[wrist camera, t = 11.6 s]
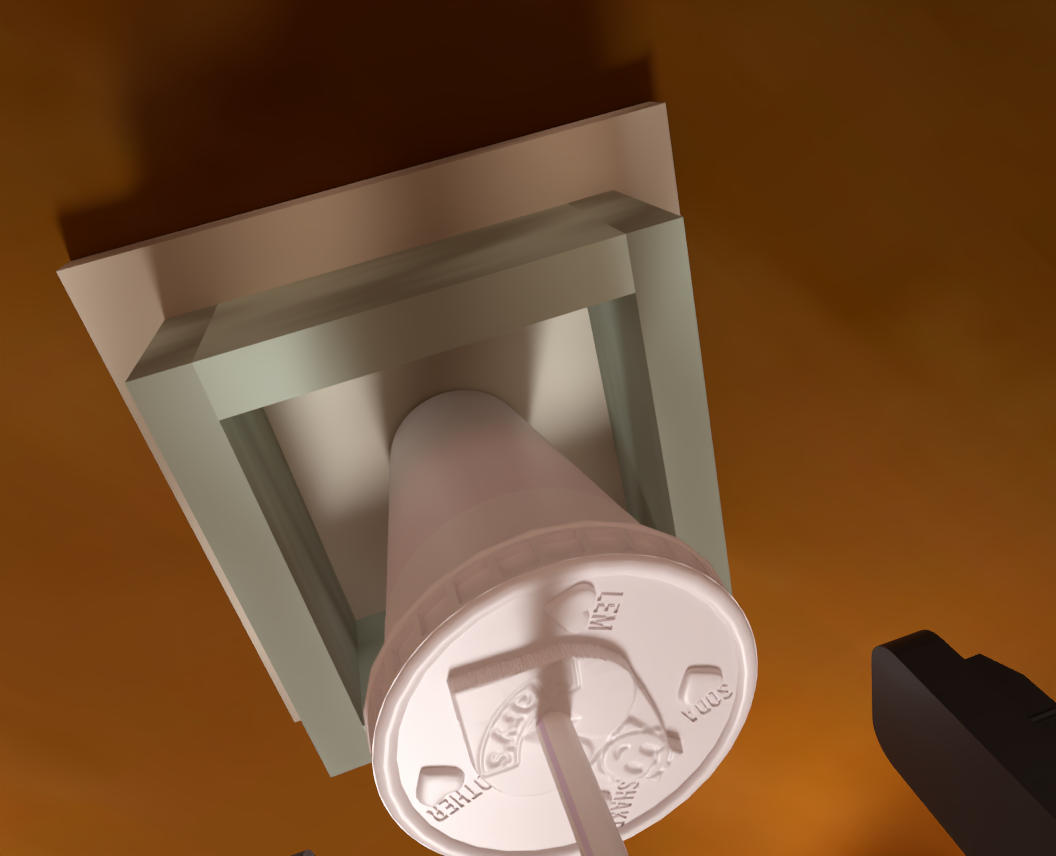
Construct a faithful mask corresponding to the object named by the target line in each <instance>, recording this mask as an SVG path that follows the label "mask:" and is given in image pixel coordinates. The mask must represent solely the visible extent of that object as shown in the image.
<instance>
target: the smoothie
mask: <svg viewBox="0 0 1056 856" xmlns="http://www.w3.org/2000/svg"><path fill="white" fill-rule="evenodd" d="M757 664H758V662H757V650H756V644H755V640H754V635H753V632H752V630H751V627H750V624H749V622H748V620H747V618H746V616H745V614H744V612H743V610H742V609H741V608H740V606H739V605H738V603H737V602H736V601H735V599H734V598H733V597H732V596H731V594H730V593H729V592H728V591H727V589H726V587H725V586H724V584H723V583H722V581H721V579H720V578H719V576H718V574H717V573H716V571H715V570H714V568H713V566H712V565H711V563H710V562H709V561H707V560H706V559H705V558H704V557H702V556H701V555H700V554H698V553H697V552H696V551H695V550H693V549H692V548H691V547H689V546H688V545H687V544H686V543H684V542H683V541H682V540H680V539H679V538H678V537H675V536H672V535H669V534H667V533H664V532H661V531H658V530H655V529H652V528H650V527H647V526H644V525H641V524H640V523H639V522H638V521H637V520H635V519H634V518H633V517H632V516H631V515H630V514H629V513H627V512H626V511H625V510H624V509H622V508H621V507H620V506H619V505H618V504H617V503H616V502H615V501H614V500H612V499H611V498H610V497H609V496H608V495H607V494H606V493H605V492H604V491H603V490H601V489H600V488H599V487H598V486H597V485H596V484H595V483H594V482H593V481H592V480H590V479H589V478H588V477H587V476H586V475H585V474H584V473H583V472H582V471H581V470H579V469H578V468H577V467H576V466H575V465H574V464H573V463H572V462H571V461H569V460H568V459H567V458H566V457H565V456H564V455H563V454H562V453H561V452H560V451H558V450H557V449H556V448H555V447H554V446H553V445H552V444H551V443H550V442H549V441H547V440H546V439H545V438H544V437H543V436H542V435H541V434H540V433H539V432H538V431H536V430H535V429H534V428H533V427H532V426H531V425H530V424H529V423H528V422H526V421H525V420H524V419H523V418H522V417H521V416H520V415H519V414H518V413H517V412H515V411H514V410H513V409H512V408H511V407H510V406H509V405H508V404H506V403H505V402H504V401H502V400H501V399H499V398H497V397H495V396H493V395H491V394H488V393H485V392H481V391H475V390H455V391H450V392H445V393H442V394H439V395H436V396H434V397H432V398H430V399H428V400H426V401H424V402H423V403H421V404H420V405H418V406H417V407H416V408H415V409H414V410H412V411H411V412H410V413H409V414H408V416H407V417H406V418H405V419H404V420H403V422H402V423H401V425H400V426H399V428H398V430H397V432H396V434H395V436H394V439H393V442H392V446H391V453H390V482H389V517H388V553H387V588H386V617H385V643H384V644H383V646H382V648H381V650H380V652H379V654H378V656H377V658H376V660H375V661H374V663H373V665H372V667H371V671H370V677H369V682H368V687H367V693H366V698H365V703H364V709H363V716H364V722H365V728H366V734H367V740H368V746H369V752H370V754H371V757H372V765H373V773H374V779H375V783H376V786H377V789H378V793H379V795H380V797H381V799H382V801H383V804H384V806H385V807H386V809H387V810H388V812H389V814H390V815H391V817H392V818H393V819H394V820H395V821H396V823H397V824H398V825H399V826H400V827H401V828H402V829H403V830H404V831H405V832H406V833H407V834H408V835H410V836H411V837H412V838H413V839H415V840H416V841H418V842H419V843H421V844H422V845H424V846H425V847H427V848H429V849H431V850H433V851H435V852H437V853H439V854H442V855H445V856H629V855H628V852H627V850H626V848H625V845H624V843H623V840H626V839H628V838H630V837H632V836H634V835H635V834H637V833H639V832H640V831H642V830H644V829H646V828H647V827H649V826H651V825H652V824H654V823H656V822H657V821H659V820H661V819H662V818H663V817H665V816H666V815H667V814H668V813H670V812H671V811H672V810H674V809H675V808H676V807H677V806H679V805H680V804H681V803H683V802H684V801H685V800H686V799H688V798H689V797H690V796H691V795H692V794H693V793H694V792H695V791H696V790H697V789H698V788H699V787H700V786H701V785H702V784H703V783H704V782H705V781H706V780H707V779H708V778H709V777H710V776H711V775H712V773H713V772H714V771H715V769H716V768H717V767H718V765H719V764H720V763H721V761H722V760H723V759H724V757H725V756H726V754H727V753H728V752H729V750H730V749H731V748H732V746H733V744H734V742H735V740H736V738H737V736H738V734H739V733H740V731H741V729H742V727H743V725H744V723H745V721H746V718H747V715H748V712H749V709H750V707H751V704H752V700H753V696H754V692H755V687H756V680H757Z"/></svg>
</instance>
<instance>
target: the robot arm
mask: <svg viewBox="0 0 1056 856" xmlns="http://www.w3.org/2000/svg"><path fill="white" fill-rule="evenodd" d="M872 716H873V725H874V730H875V733H876V736H877V738H878V741H879V743H880V745H881V747H882V749H883V751H884V753H885V755H886V756H887V758H888V759H889V761H890V762H891V764H892V765H893V766H894V768H895V769H896V770H897V772H898V773H899V774H900V775H901V776H902V778H903V779H904V780H905V781H906V783H907V784H908V785H909V786H910V787H911V789H912V790H913V791H914V792H915V794H916V795H917V796H918V797H919V798H920V800H921V801H922V802H923V803H924V805H925V806H926V807H927V808H928V809H929V811H930V812H931V813H932V814H933V816H934V817H935V818H936V819H937V820H938V822H939V823H940V824H941V825H942V827H943V828H944V829H945V830H946V832H947V833H948V834H949V835H950V836H951V838H952V839H953V840H954V841H955V843H956V844H957V845H958V846H959V847H960V849H961V850H962V851H963V852H964V854H965V855H966V856H1056V703H1055V702H1054V701H1053V700H1052V699H1051V698H1050V697H1049V696H1047V695H1046V694H1045V693H1044V692H1043V691H1042V690H1040V689H1039V688H1038V687H1037V686H1036V685H1035V684H1033V683H1032V682H1031V681H1030V680H1029V679H1028V678H1026V677H1025V676H1024V675H1023V674H1021V673H1019V672H1016V671H1014V670H1012V669H1010V668H1008V667H1006V666H1004V665H1002V664H1000V663H998V662H996V661H994V660H992V659H990V658H988V657H986V656H983V655H981V654H978V655H975V656H973V657H970V658H967V659H963V658H962V657H961V656H960V655H959V654H958V653H957V652H956V651H955V650H954V649H953V648H951V647H950V646H949V645H948V644H947V643H946V642H945V641H944V640H943V639H942V638H940V637H939V636H938V635H937V634H935V633H933V632H931V631H929V630H921V631H918V632H915V633H912V634H910V635H907V636H904V637H901V638H899V639H896V640H893V641H890V642H888V643H885V644H882V645H879V646H877V647H875V648H874V649H873V651H872ZM291 856H315V855H314V853H313V852H312V851H310V850H305V851H302V852H300V853H297V854H294V855H291Z"/></svg>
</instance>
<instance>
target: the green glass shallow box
mask: <svg viewBox="0 0 1056 856" xmlns="http://www.w3.org/2000/svg"><path fill="white" fill-rule="evenodd" d="M56 272H57V274H58V276H59V278H60V280H61V281H62V283H63V285H64V287H65V289H66V291H67V293H68V295H69V297H70V298H71V300H72V302H73V304H74V306H75V308H76V310H77V312H78V314H79V315H80V317H81V319H82V321H83V323H84V325H85V327H86V329H87V331H88V332H89V334H90V336H91V338H92V340H93V342H94V344H95V346H96V348H97V349H98V351H99V353H100V355H101V357H102V359H103V361H104V363H105V365H106V367H107V368H108V370H109V372H110V374H111V376H112V378H113V380H114V382H115V384H116V385H117V387H118V389H119V391H120V393H121V395H122V397H123V399H124V401H125V402H126V404H127V406H128V408H129V410H130V412H131V414H132V416H133V418H134V419H135V421H136V423H137V425H138V427H139V429H140V431H141V433H142V435H143V436H144V438H145V440H146V442H147V444H148V446H149V448H150V450H151V452H152V453H153V455H154V457H155V459H156V461H157V463H158V465H159V467H160V469H161V470H162V472H163V474H164V476H165V478H166V480H167V482H168V484H169V486H170V487H171V489H172V491H173V493H174V495H175V497H176V499H177V501H178V503H179V504H180V506H181V508H182V510H183V512H184V514H185V516H186V518H187V520H188V521H189V523H190V525H191V527H192V529H193V531H194V533H195V535H196V537H197V538H198V540H199V542H200V544H201V546H202V548H203V550H204V552H205V554H206V555H207V557H208V559H209V561H210V563H211V565H212V567H213V569H214V571H215V572H216V574H217V576H218V578H219V580H220V582H221V584H222V586H223V588H224V589H225V591H226V593H227V595H228V597H229V599H230V601H231V603H232V605H233V607H234V608H235V610H236V612H237V614H238V616H239V618H240V620H241V622H242V624H243V625H244V627H245V629H246V631H247V633H248V635H249V637H250V639H251V641H252V642H253V644H254V646H255V648H256V650H257V652H258V654H259V656H260V658H261V659H262V661H263V663H264V665H265V667H266V669H267V671H268V673H269V675H270V676H271V678H272V680H273V682H274V684H275V686H276V688H277V690H278V692H279V693H280V695H281V697H282V699H283V701H284V703H285V705H286V707H287V709H288V710H289V712H290V714H291V716H292V718H293V720H294V722H297V721H300V720H301V721H302V723H303V725H304V727H305V729H306V731H307V733H308V734H309V736H310V738H311V740H312V742H313V744H314V746H315V748H316V750H317V752H318V754H319V755H320V757H321V759H322V761H323V763H324V765H325V767H326V769H327V771H328V773H329V775H330V777H333V776H336V775H338V774H341V773H344V772H347V771H349V770H352V769H355V768H357V767H360V766H363V765H366V764H368V763H371V762H372V757H371V754H370V752H369V746H368V740H367V734H366V728H365V722H364V716H363V709H364V703H365V698H366V693H367V687H368V682H369V677H370V671H371V667H372V665H373V663H374V661H375V660H376V658H377V656H378V654H379V652H380V650H381V648H382V646H383V644H384V643H385V617H386V588H387V553H388V517H389V482H390V453H391V446H392V442H393V439H394V436H395V434H396V432H397V430H398V428H399V426H400V425H401V423H402V422H403V420H404V419H405V418H406V417H407V416H408V414H409V413H410V412H411V411H412V410H414V409H415V408H416V407H417V406H418V405H420V404H421V403H423V402H424V401H426V400H428V399H430V398H432V397H434V396H436V395H439V394H442V393H445V392H450V391H455V390H475V391H481V392H485V393H488V394H491V395H493V396H495V397H497V398H499V399H501V400H502V401H504V402H505V403H506V404H508V405H509V406H510V407H511V408H512V409H513V410H514V411H515V412H517V413H518V414H519V415H520V416H521V417H522V418H523V419H524V420H525V421H526V422H528V423H529V424H530V425H531V426H532V427H533V428H534V429H535V430H536V431H538V432H539V433H540V434H541V435H542V436H543V437H544V438H545V439H546V440H547V441H549V442H550V443H551V444H552V445H553V446H554V447H555V448H556V449H557V450H558V451H560V452H561V453H562V454H563V455H564V456H565V457H566V458H567V459H568V460H569V461H571V462H572V463H573V464H574V465H575V466H576V467H577V468H578V469H579V470H581V471H582V472H583V473H584V474H585V475H586V476H587V477H588V478H589V479H590V480H592V481H593V482H594V483H595V484H596V485H597V486H598V487H599V488H600V489H601V490H603V491H604V492H605V493H606V494H607V495H608V496H609V497H610V498H611V499H612V500H614V501H615V502H616V503H617V504H618V505H619V506H620V507H621V508H622V509H624V510H625V511H626V512H627V513H629V514H630V515H631V516H632V517H633V518H634V519H635V520H637V521H638V522H639V523H640V524H641V525H644V526H647V527H650V528H652V529H655V530H658V531H661V532H664V533H667V534H669V535H672V536H675V537H678V538H679V539H680V540H682V541H683V542H684V543H686V544H687V545H688V546H689V547H691V548H692V549H693V550H695V551H696V552H697V553H698V554H700V555H701V556H702V557H704V558H705V559H706V560H707V561H709V562H710V563H711V565H712V566H713V568H714V570H715V571H716V573H717V574H718V576H719V578H720V579H721V581H722V583H723V584H724V586H725V587H726V589H727V591H728V592H729V593H730V594H731V596H732V589H731V582H730V574H729V566H728V559H727V551H726V543H725V536H724V528H723V520H722V513H721V505H720V497H719V490H718V482H717V474H716V466H715V459H714V451H713V443H712V436H711V428H710V420H709V413H708V405H707V397H706V390H705V382H704V374H703V367H702V359H701V351H700V344H699V336H698V328H697V320H696V313H695V305H694V297H693V290H692V282H691V274H690V267H689V259H688V251H687V244H686V236H685V228H684V221H683V217H682V216H680V210H679V202H678V195H677V187H676V180H675V172H674V164H673V157H672V149H671V142H670V134H669V126H668V119H667V111H666V104H665V103H661V102H646V103H642V104H638V105H635V106H631V107H628V108H624V109H620V110H617V111H613V112H609V113H606V114H602V115H599V116H595V117H591V118H588V119H584V120H580V121H577V122H573V123H570V124H566V125H562V126H559V127H555V128H551V129H548V130H544V131H541V132H537V133H533V134H530V135H526V136H522V137H519V138H515V139H512V140H508V141H504V142H501V143H497V144H493V145H490V146H486V147H483V148H479V149H475V150H472V151H468V152H464V153H461V154H457V155H454V156H450V157H446V158H443V159H439V160H435V161H432V162H428V163H425V164H421V165H417V166H414V167H410V168H406V169H403V170H399V171H396V172H392V173H388V174H385V175H381V176H377V177H374V178H370V179H367V180H363V181H359V182H356V183H352V184H348V185H345V186H341V187H338V188H334V189H330V190H327V191H323V192H319V193H316V194H312V195H309V196H305V197H301V198H298V199H294V200H290V201H287V202H283V203H280V204H276V205H272V206H269V207H265V208H261V209H258V210H254V211H251V212H247V213H243V214H240V215H236V216H232V217H229V218H225V219H222V220H218V221H214V222H211V223H207V224H203V225H200V226H196V227H193V228H189V229H185V230H182V231H178V232H174V233H171V234H167V235H164V236H160V237H156V238H153V239H149V240H145V241H142V242H138V243H135V244H131V245H127V246H124V247H120V248H116V249H113V250H109V251H106V252H102V253H98V254H95V255H91V256H87V257H84V258H80V259H77V260H73V261H70V262H68V263H67V264H66V265H64V266H63V267H62V268H60V269H59V270H58V271H56Z"/></svg>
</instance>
